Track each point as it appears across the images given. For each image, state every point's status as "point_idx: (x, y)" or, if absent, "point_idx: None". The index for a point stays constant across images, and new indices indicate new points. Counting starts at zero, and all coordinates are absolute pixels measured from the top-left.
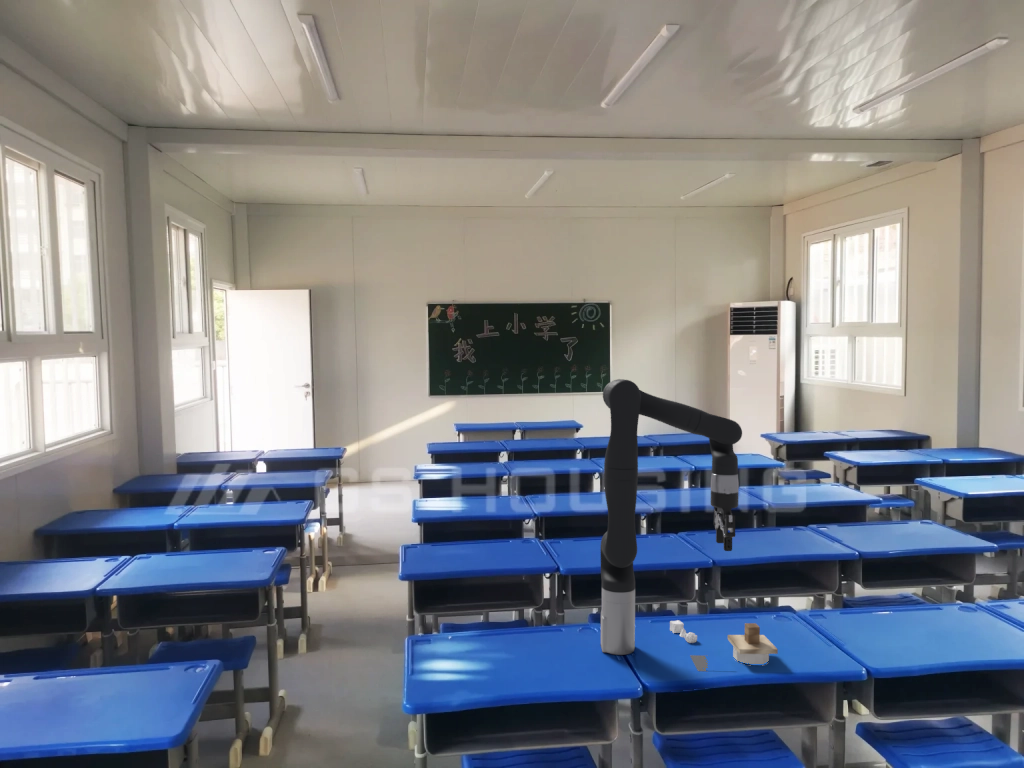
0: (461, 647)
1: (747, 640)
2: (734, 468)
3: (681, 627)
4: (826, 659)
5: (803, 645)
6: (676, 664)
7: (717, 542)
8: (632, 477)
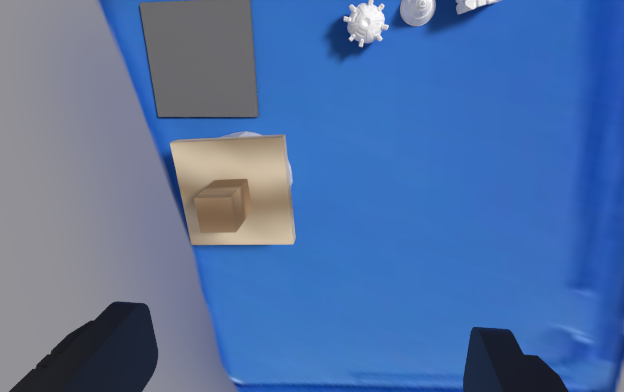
0: None
1: (220, 182)
2: None
3: (461, 2)
4: (275, 338)
5: (354, 325)
6: None
7: (474, 333)
8: None
